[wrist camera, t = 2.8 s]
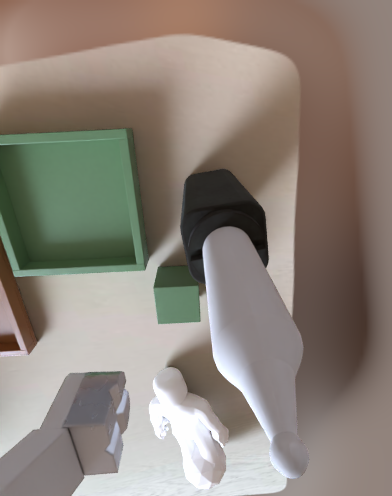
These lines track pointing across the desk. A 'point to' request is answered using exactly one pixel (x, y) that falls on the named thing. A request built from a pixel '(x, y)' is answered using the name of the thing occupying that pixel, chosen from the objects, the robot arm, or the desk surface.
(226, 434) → the figure
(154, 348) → the desk surface
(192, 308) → the green block
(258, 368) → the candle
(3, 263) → the wood tray
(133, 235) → the green tray
